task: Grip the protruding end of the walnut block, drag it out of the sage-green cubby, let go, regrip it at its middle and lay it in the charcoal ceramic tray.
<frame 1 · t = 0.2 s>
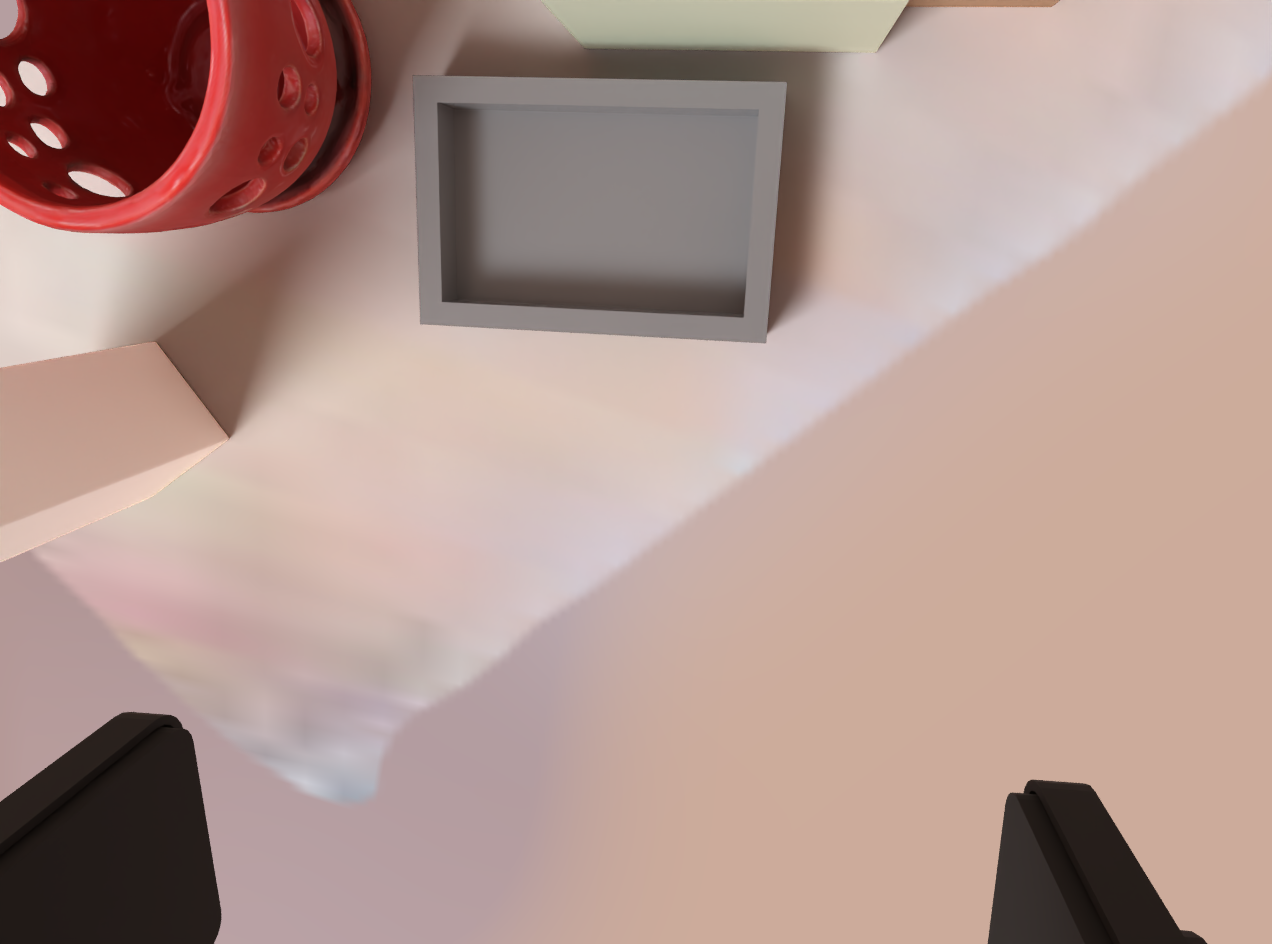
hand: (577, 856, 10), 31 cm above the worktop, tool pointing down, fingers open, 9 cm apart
tray: (603, 212, 37), on the worktop
plant pot: (258, 84, 38), on the worktop
milk: (156, 420, 43), on the worktop
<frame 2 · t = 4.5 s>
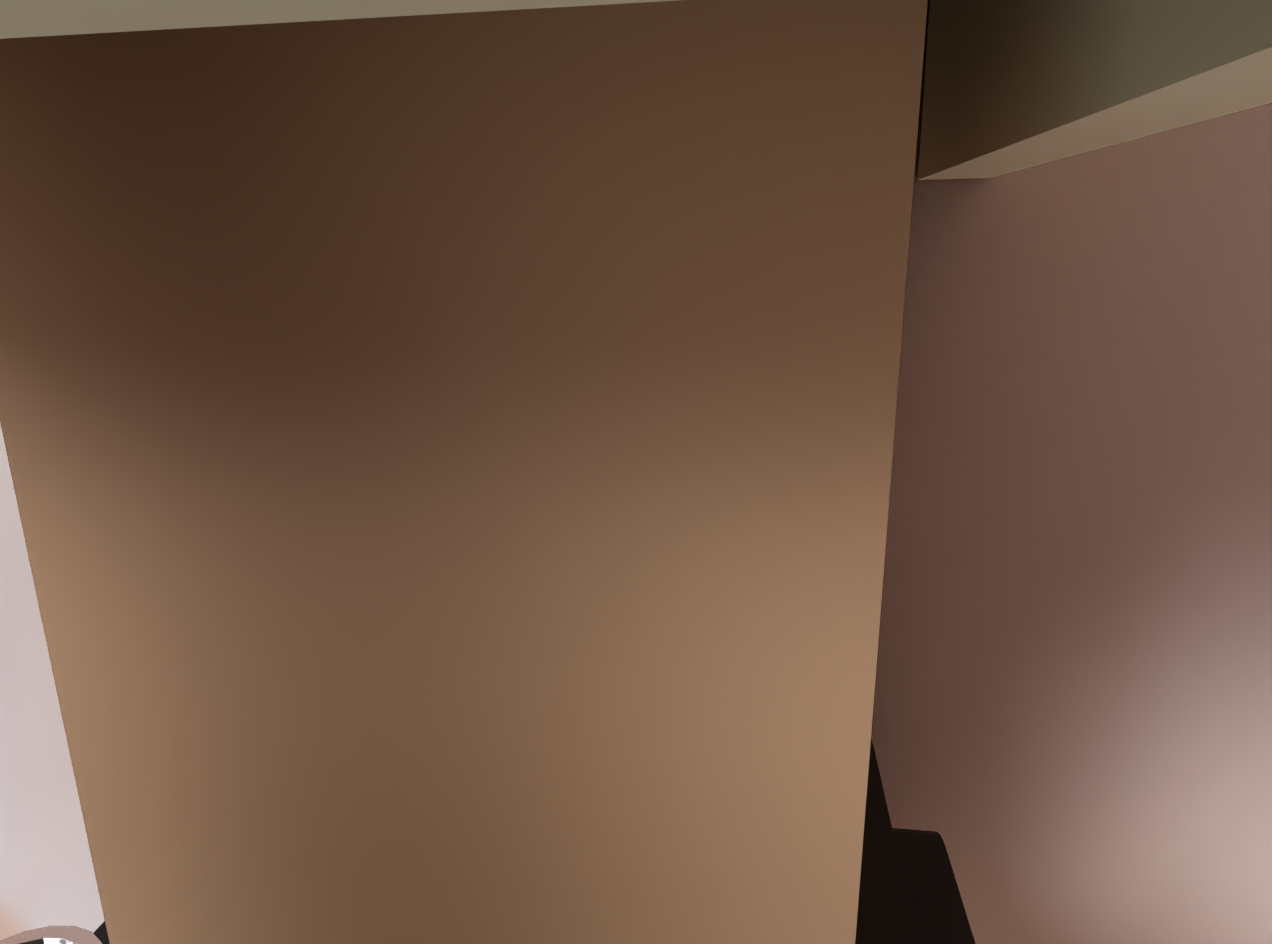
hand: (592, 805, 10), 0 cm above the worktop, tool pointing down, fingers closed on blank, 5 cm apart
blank: (593, 508, 10), on the worktop, touching gripper
when the fingers open (1 cm above the worktop, at t = 5.5 s): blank stays where it is, on the worktop.
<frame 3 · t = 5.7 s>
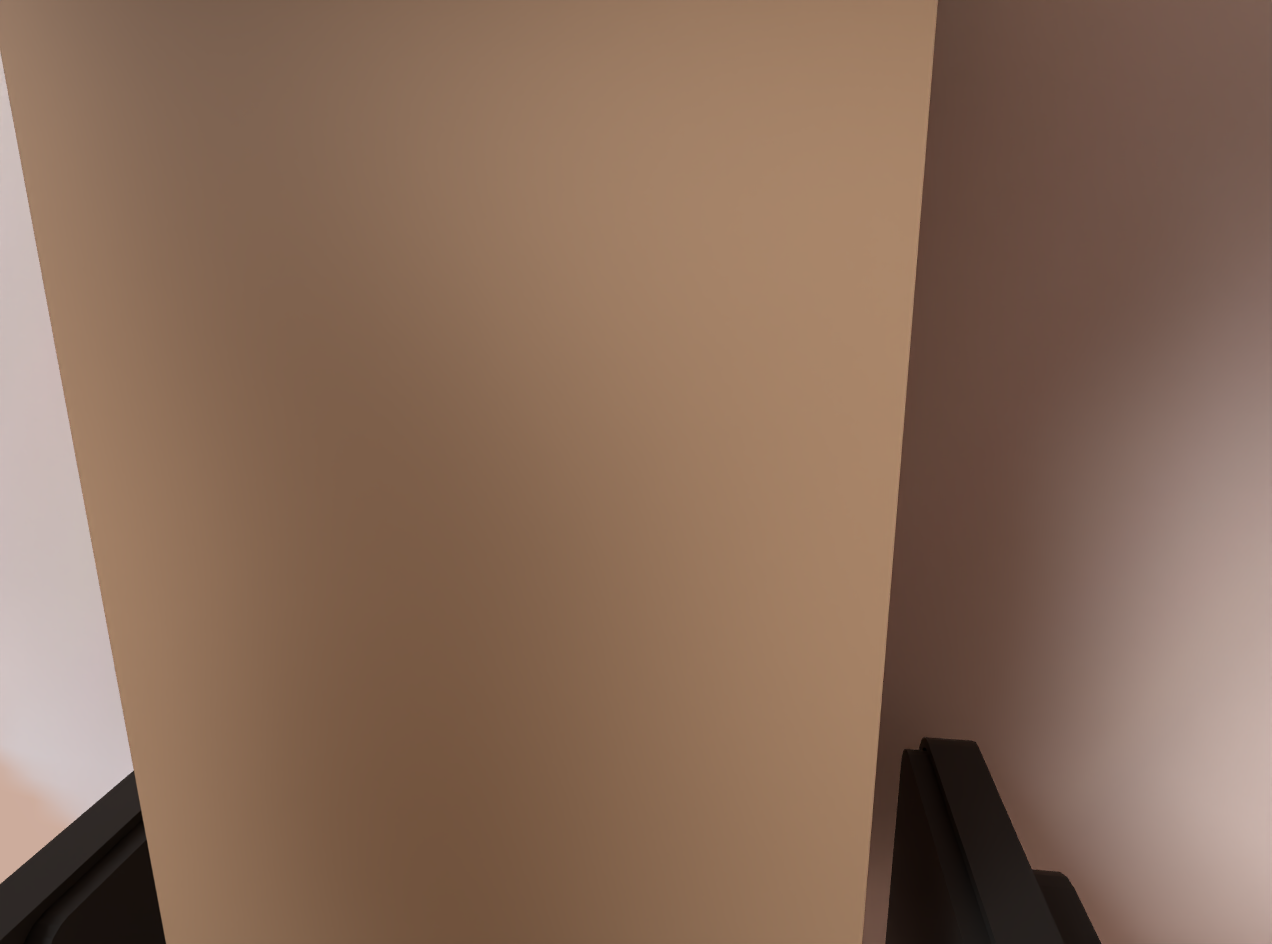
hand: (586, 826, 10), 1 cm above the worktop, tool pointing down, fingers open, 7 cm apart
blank: (608, 497, 10), on the worktop
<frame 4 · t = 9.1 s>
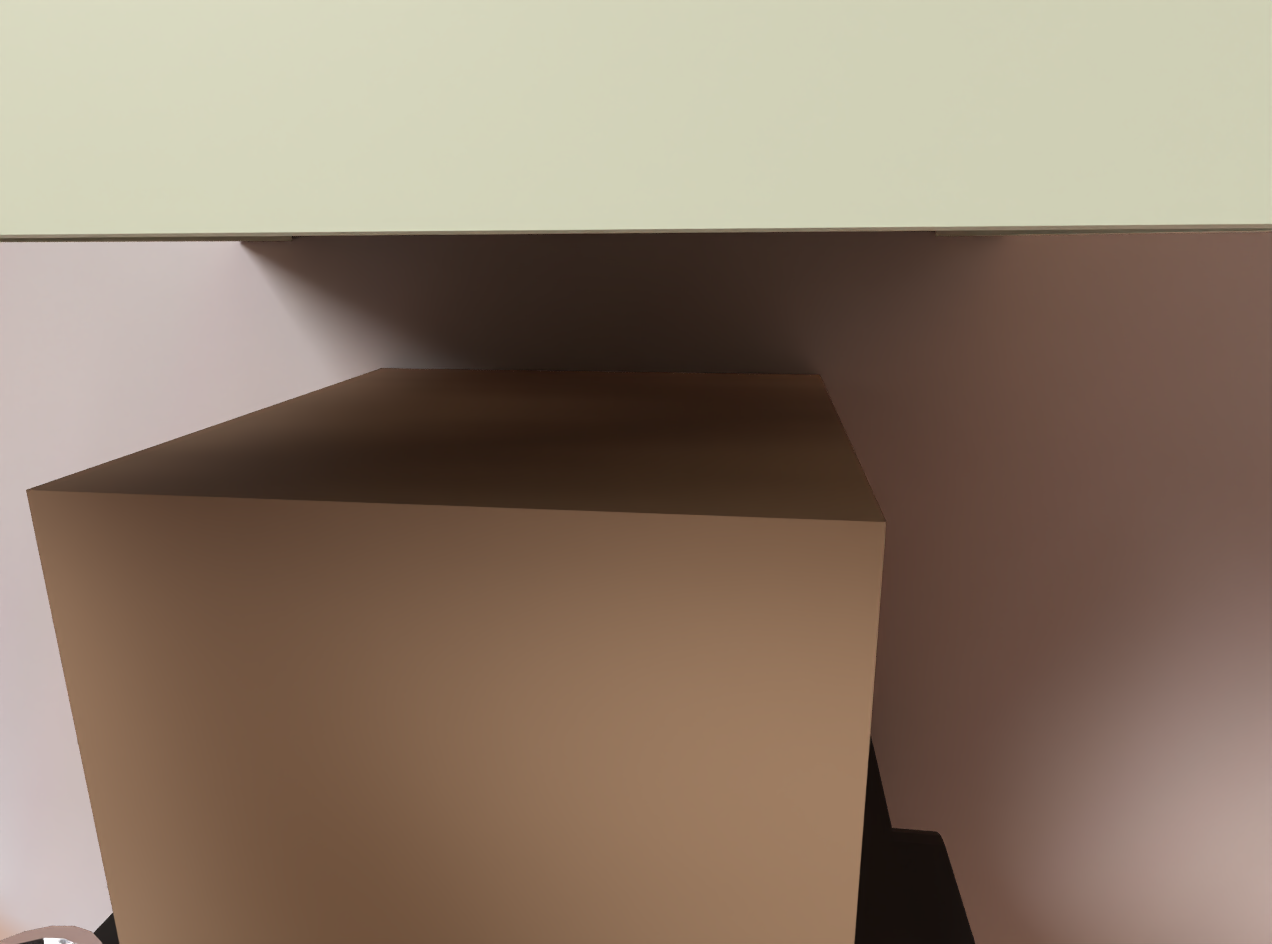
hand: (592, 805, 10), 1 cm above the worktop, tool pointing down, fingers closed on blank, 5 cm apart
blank: (600, 760, 11), on the worktop, touching gripper
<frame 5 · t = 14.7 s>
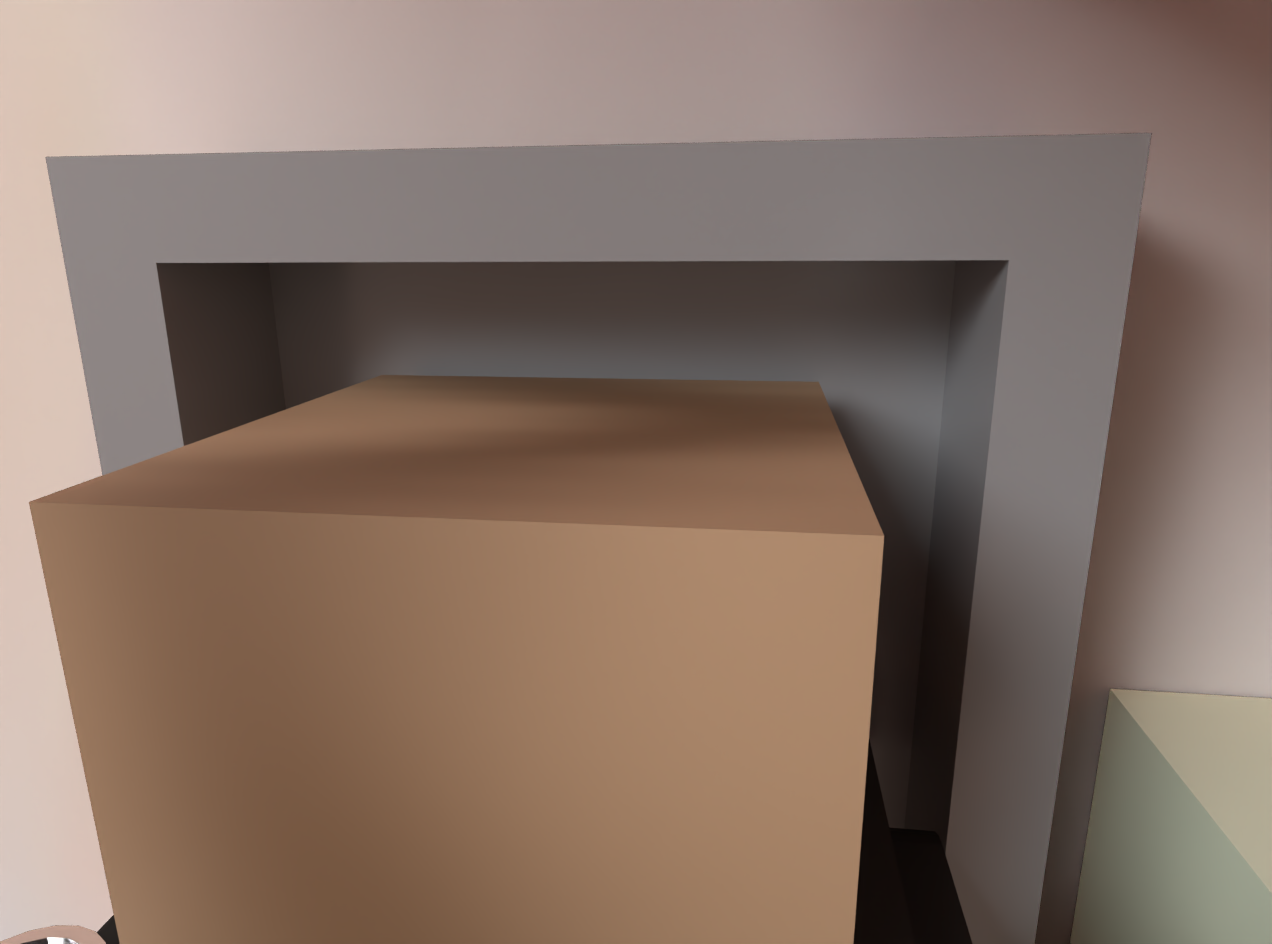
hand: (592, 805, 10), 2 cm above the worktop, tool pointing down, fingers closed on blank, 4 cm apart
tray: (612, 721, 12), on the worktop
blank: (600, 765, 11), point 1 cm above the worktop, touching gripper
when the fingers open (2 cm above the worktop, at t = 15.6 s): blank stays where it is, resting on tray.
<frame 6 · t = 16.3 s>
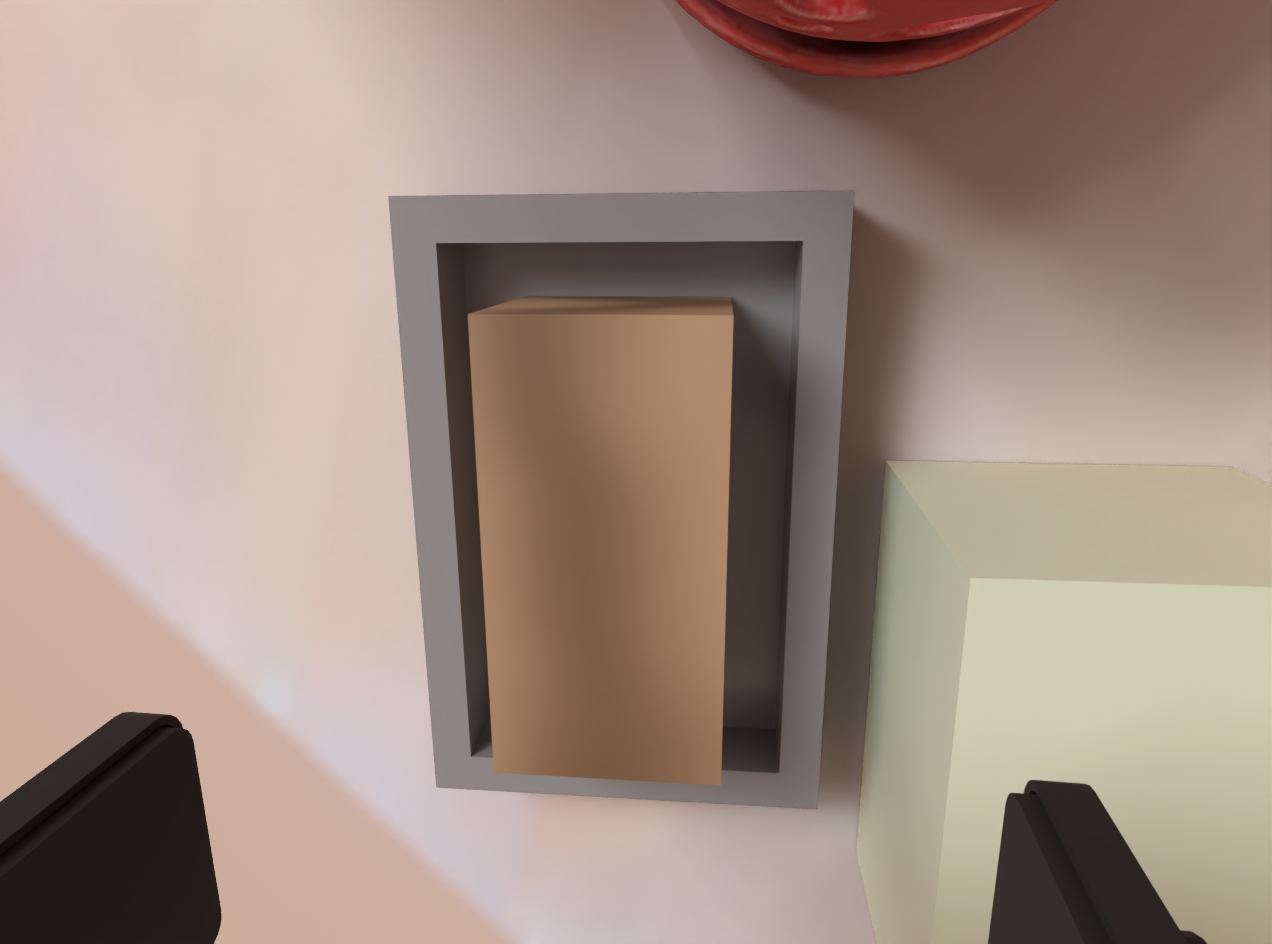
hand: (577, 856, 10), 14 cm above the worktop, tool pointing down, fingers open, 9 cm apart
tray: (631, 491, 23), on the worktop
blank: (628, 493, 22), point 1 cm above the worktop, touching tray
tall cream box: (1027, 676, 23), on the worktop
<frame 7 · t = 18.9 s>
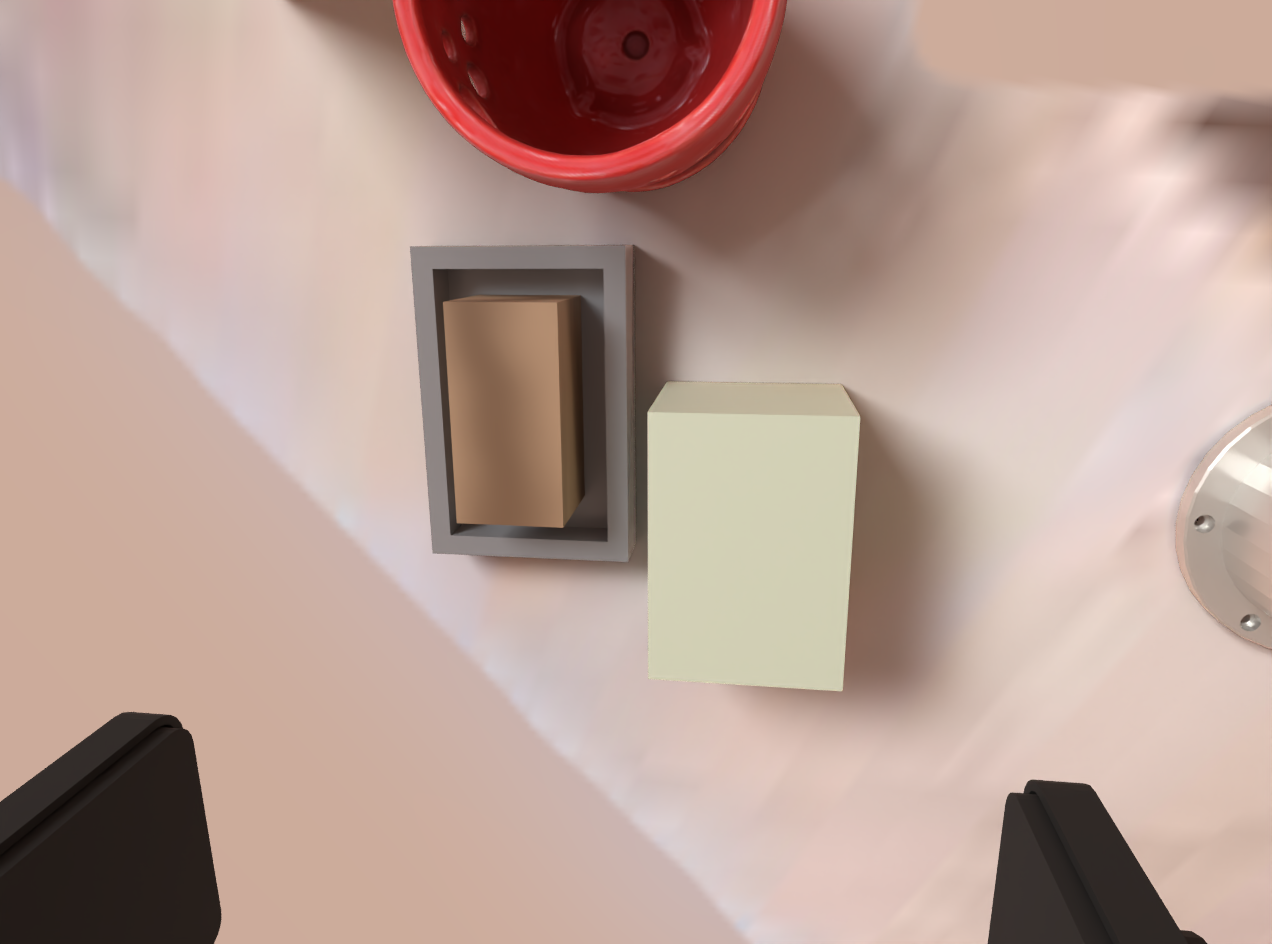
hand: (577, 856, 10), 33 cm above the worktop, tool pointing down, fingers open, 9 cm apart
tray: (537, 398, 43), on the worktop
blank: (533, 397, 42), point 1 cm above the worktop, touching tray
plant pot: (633, 49, 38), on the worktop
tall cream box: (749, 500, 43), on the worktop
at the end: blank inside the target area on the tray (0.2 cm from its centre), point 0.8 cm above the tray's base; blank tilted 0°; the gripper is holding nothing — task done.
